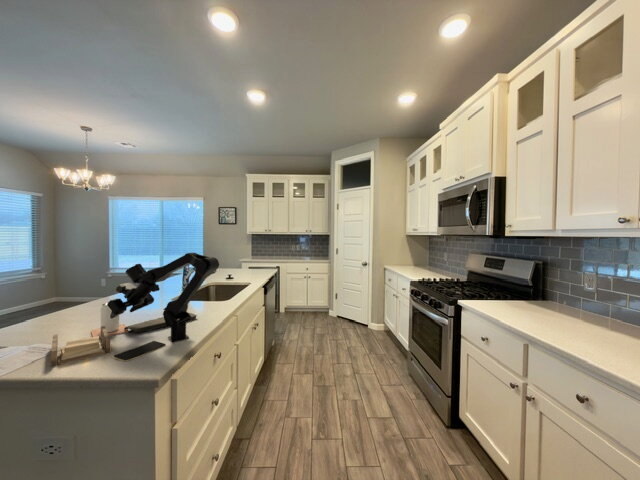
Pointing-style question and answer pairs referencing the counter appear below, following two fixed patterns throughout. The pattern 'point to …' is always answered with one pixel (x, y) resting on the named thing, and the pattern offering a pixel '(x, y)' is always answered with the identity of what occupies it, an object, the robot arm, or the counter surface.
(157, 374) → the counter surface
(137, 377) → the counter surface
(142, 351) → the smartphone
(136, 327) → the stone slab
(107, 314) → the can
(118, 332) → the tile
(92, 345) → the rack
